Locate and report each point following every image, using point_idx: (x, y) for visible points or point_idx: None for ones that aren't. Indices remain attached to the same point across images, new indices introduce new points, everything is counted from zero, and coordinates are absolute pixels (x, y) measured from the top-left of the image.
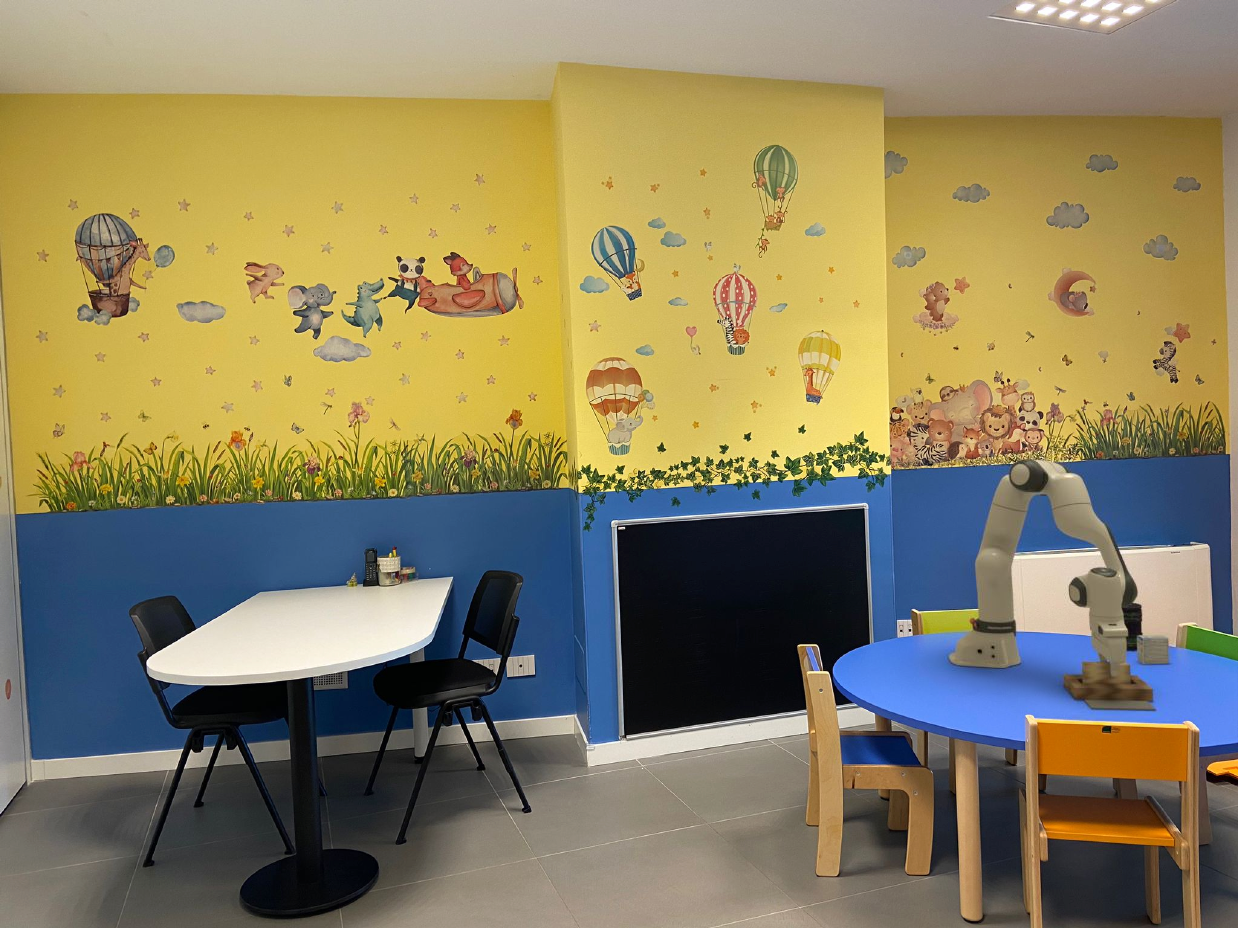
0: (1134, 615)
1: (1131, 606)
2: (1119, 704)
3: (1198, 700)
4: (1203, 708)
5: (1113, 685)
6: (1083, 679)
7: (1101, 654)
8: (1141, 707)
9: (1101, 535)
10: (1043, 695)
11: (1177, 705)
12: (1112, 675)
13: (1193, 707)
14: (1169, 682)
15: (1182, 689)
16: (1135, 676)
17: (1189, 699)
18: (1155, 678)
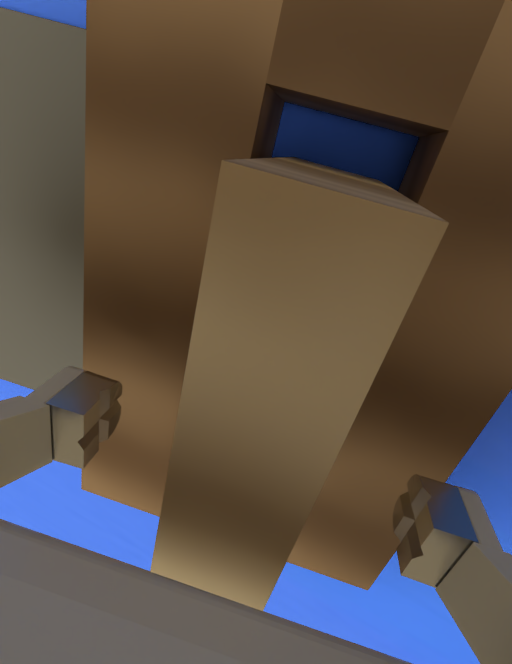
0: None
1: None
2: (16, 241)
3: (133, 565)
4: (39, 520)
5: (161, 344)
6: (353, 178)
7: (230, 605)
8: None
9: None
10: None
11: (67, 477)
12: (68, 370)
13: (47, 504)
14: (384, 643)
15: (276, 614)
16: (345, 571)
17: (146, 553)
18: (465, 649)
